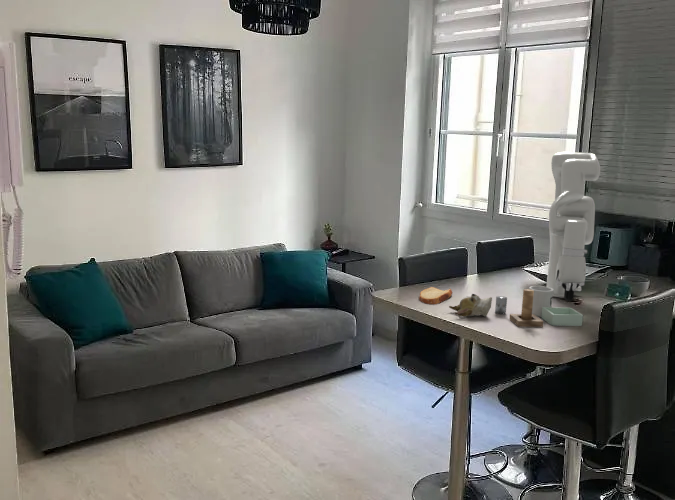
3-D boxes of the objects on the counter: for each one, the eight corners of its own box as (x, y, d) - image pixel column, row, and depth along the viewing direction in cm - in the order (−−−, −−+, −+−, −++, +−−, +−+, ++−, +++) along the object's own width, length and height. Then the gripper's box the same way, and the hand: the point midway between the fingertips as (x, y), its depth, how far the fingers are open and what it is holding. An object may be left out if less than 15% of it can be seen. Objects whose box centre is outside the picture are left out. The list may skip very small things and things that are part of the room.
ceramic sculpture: (495, 296, 237) (454, 298, 237) (495, 319, 239) (454, 321, 238) (488, 289, 248) (448, 291, 247) (487, 312, 249) (448, 313, 249)
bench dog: (503, 311, 251) (505, 296, 250) (507, 314, 247) (508, 298, 246) (493, 311, 251) (494, 296, 249) (496, 314, 247) (498, 298, 246)
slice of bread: (427, 305, 257) (427, 296, 256) (406, 294, 274) (407, 285, 273) (467, 303, 263) (468, 294, 262) (445, 292, 280) (445, 283, 279)
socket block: (533, 319, 241) (533, 314, 241) (542, 326, 232) (543, 321, 232) (509, 319, 240) (509, 314, 240) (518, 326, 232) (518, 321, 231)
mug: (553, 318, 244) (555, 292, 242) (527, 316, 245) (530, 290, 244) (548, 309, 256) (551, 284, 254) (524, 307, 257) (526, 283, 256)
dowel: (528, 321, 238) (531, 289, 236) (532, 324, 235) (535, 291, 233) (519, 321, 238) (521, 289, 236) (522, 324, 235) (525, 291, 232)
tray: (569, 317, 245) (570, 307, 244) (581, 325, 235) (583, 315, 235) (541, 317, 244) (542, 307, 243) (552, 325, 234) (553, 314, 234)
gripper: (587, 251, 251) (582, 298, 254) (549, 250, 250) (545, 297, 253) (596, 254, 244) (592, 303, 247) (557, 254, 242) (553, 302, 245)
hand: (568, 300), depth 250 cm, fingers closed
